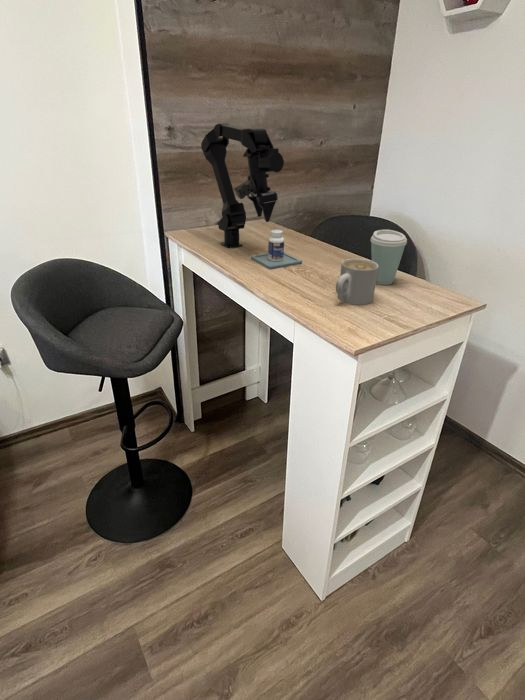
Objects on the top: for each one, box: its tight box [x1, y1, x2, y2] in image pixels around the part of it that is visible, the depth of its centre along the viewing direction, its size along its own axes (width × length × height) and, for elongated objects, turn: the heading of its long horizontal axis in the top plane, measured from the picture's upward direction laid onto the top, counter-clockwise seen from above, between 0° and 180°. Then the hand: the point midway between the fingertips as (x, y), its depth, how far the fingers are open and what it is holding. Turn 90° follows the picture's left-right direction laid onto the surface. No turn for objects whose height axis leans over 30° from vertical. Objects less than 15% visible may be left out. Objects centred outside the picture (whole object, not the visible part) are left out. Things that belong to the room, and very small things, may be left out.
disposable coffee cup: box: [369, 229, 408, 286], centre depth 129 cm, size 11×11×15 cm
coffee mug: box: [335, 258, 379, 306], centre depth 117 cm, size 13×10×10 cm
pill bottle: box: [267, 229, 285, 261], centre depth 145 cm, size 5×5×10 cm
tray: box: [250, 251, 303, 270], centre depth 147 cm, size 13×13×1 cm
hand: (263, 219), depth 147 cm, fingers open, 9 cm apart
